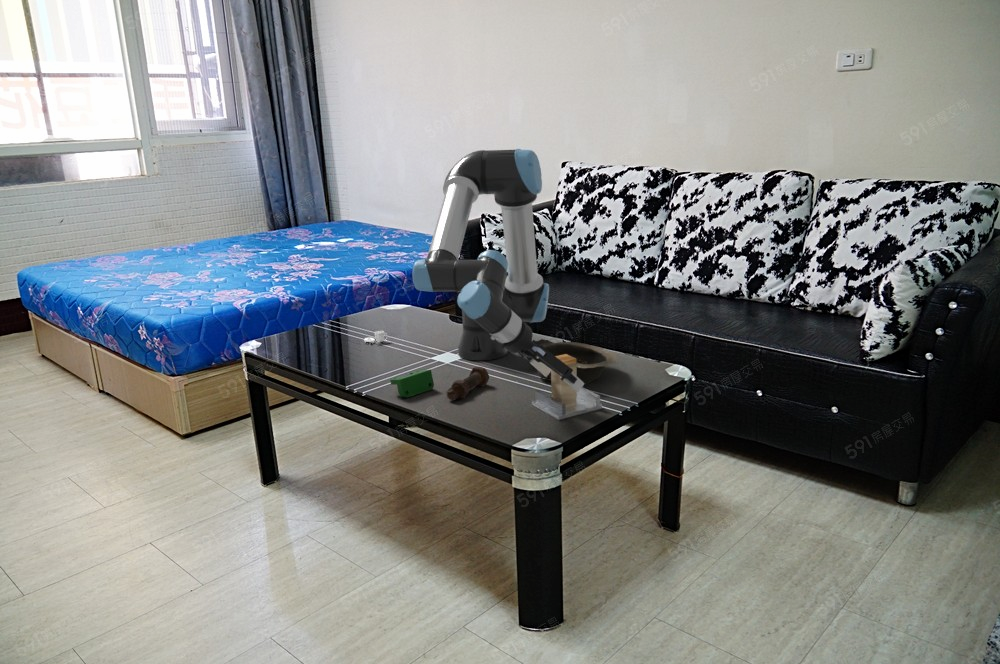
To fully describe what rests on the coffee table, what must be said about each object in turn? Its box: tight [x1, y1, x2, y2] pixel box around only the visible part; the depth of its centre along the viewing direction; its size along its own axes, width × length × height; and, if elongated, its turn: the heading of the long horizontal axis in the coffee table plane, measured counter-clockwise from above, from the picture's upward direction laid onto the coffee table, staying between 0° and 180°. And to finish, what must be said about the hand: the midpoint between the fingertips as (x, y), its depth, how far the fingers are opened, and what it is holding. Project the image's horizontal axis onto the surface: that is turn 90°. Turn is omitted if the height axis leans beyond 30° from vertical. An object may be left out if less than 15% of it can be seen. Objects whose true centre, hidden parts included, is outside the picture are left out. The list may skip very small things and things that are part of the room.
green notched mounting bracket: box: [389, 369, 435, 398], centre depth 202 cm, size 11×6×8 cm, turn 128°
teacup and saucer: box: [363, 330, 388, 343], centre depth 248 cm, size 9×8×4 cm
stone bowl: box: [535, 338, 618, 385], centre depth 209 cm, size 25×25×9 cm
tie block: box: [550, 354, 577, 407], centre depth 186 cm, size 4×4×12 cm
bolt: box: [445, 366, 490, 401], centre depth 200 cm, size 6×5×15 cm
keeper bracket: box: [531, 386, 603, 421], centre depth 188 cm, size 12×13×4 cm
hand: (564, 379), depth 186 cm, fingers open, 13 cm apart
